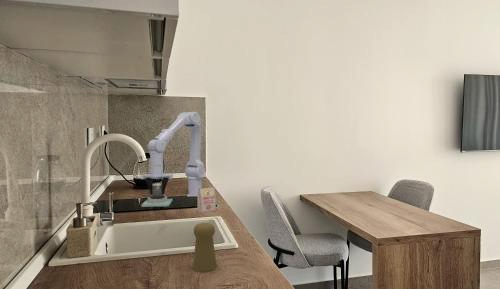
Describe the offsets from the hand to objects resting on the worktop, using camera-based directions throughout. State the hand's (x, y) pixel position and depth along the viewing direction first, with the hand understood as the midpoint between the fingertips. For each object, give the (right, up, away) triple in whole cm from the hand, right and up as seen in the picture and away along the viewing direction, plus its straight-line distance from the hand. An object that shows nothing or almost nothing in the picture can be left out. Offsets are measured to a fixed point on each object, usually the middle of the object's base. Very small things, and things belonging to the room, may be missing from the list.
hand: (157, 193), depth 162 cm
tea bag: (+25, -5, -16) cm, 30 cm away
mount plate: (0, -5, 0) cm, 5 cm away
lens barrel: (0, -3, 0) cm, 3 cm away
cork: (+32, -8, -76) cm, 83 cm away
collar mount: (0, -5, 0) cm, 5 cm away
